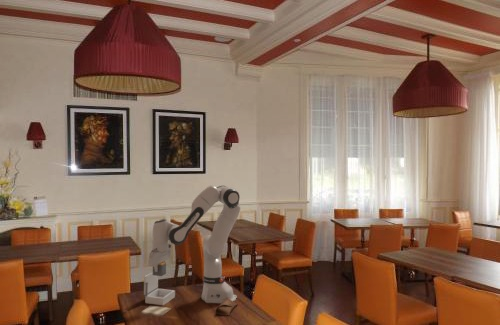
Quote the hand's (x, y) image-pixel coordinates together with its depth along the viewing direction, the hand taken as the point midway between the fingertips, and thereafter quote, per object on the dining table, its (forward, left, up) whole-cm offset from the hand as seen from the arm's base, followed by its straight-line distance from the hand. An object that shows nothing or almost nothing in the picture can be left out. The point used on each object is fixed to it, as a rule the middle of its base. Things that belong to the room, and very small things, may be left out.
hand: (159, 270), depth 232 cm
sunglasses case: (-40, -8, -22) cm, 46 cm away
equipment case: (+3, -7, -22) cm, 23 cm away
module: (0, 0, -3) cm, 3 cm away
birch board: (-3, +8, -22) cm, 23 cm away
